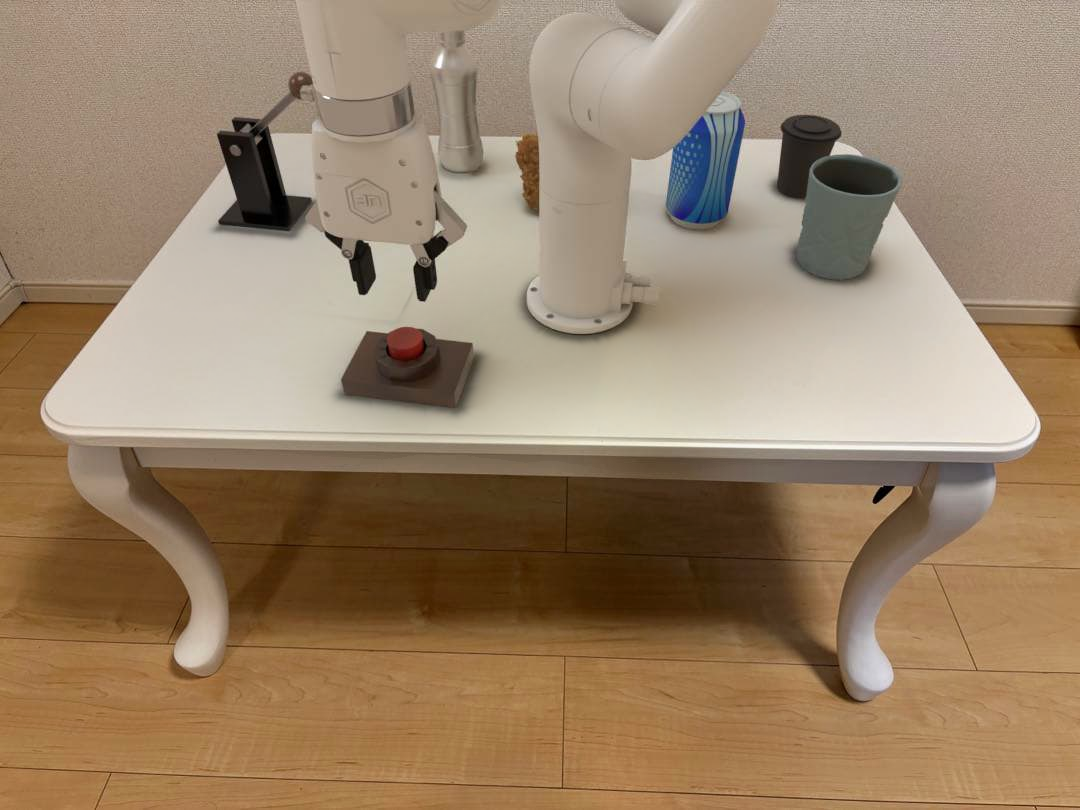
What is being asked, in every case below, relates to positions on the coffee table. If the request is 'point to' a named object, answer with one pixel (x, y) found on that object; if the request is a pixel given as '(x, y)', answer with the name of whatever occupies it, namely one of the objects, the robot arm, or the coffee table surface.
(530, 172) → the fried chicken
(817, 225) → the green embossed tumbler
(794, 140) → the coffee cup
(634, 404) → the coffee table surface
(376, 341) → the button block
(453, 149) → the silver metal bottle
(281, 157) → the coffee table surface
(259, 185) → the bracket
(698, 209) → the beer can
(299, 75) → the lever
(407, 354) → the button
